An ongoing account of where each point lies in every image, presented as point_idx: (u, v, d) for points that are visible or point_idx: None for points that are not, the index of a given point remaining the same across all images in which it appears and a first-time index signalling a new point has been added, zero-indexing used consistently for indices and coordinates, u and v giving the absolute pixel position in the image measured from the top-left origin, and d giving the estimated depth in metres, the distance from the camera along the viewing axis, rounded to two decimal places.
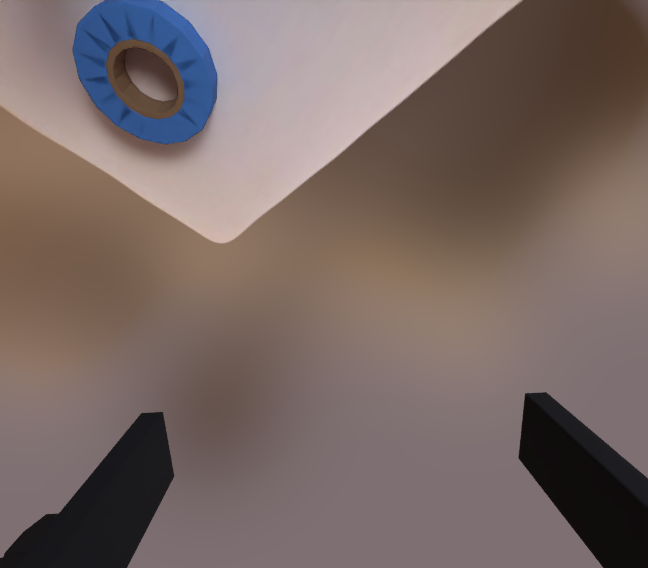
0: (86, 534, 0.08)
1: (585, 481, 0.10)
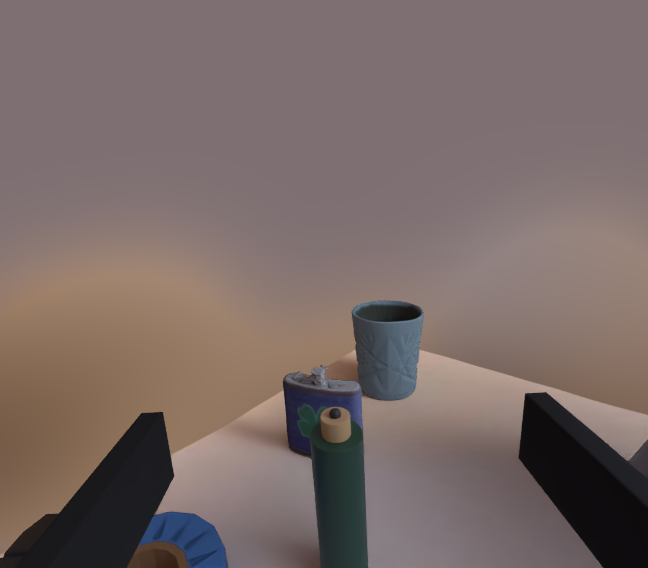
0: (86, 534, 0.08)
1: (585, 481, 0.10)
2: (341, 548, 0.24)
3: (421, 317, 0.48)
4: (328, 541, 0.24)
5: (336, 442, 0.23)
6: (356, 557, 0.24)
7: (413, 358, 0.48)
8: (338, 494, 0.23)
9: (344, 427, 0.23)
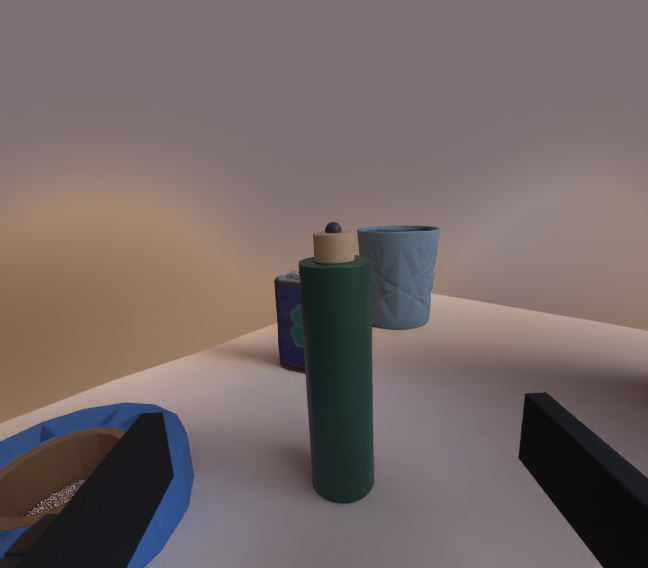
0: (86, 534, 0.08)
1: (585, 481, 0.10)
2: (338, 419, 0.18)
3: (437, 231, 0.41)
4: (321, 410, 0.18)
5: (334, 263, 0.17)
6: (359, 436, 0.18)
7: (427, 280, 0.42)
8: (335, 334, 0.16)
9: (345, 241, 0.16)
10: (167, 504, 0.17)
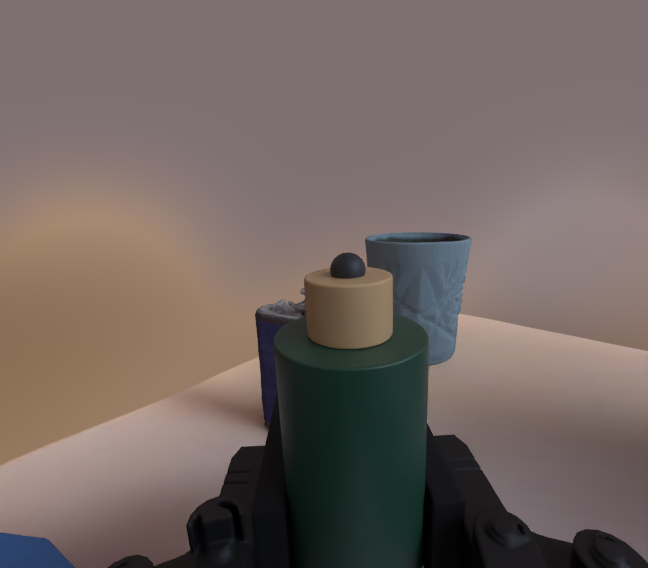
0: None
1: None
2: None
3: (469, 241, 0.32)
4: None
5: (351, 349, 0.07)
6: None
7: (455, 303, 0.33)
8: (354, 510, 0.07)
9: (377, 299, 0.07)
10: None
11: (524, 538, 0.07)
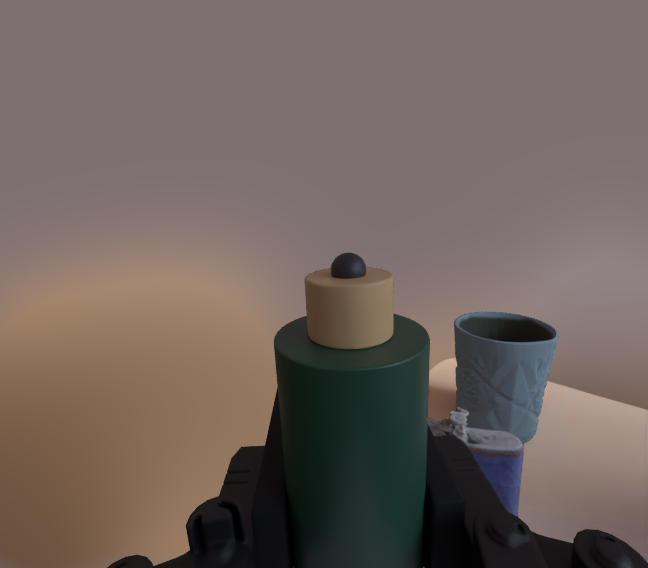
0: None
1: None
2: None
3: (557, 336, 0.36)
4: None
5: (352, 349, 0.07)
6: None
7: (543, 390, 0.37)
8: (355, 511, 0.07)
9: (378, 299, 0.07)
10: None
11: (524, 538, 0.07)
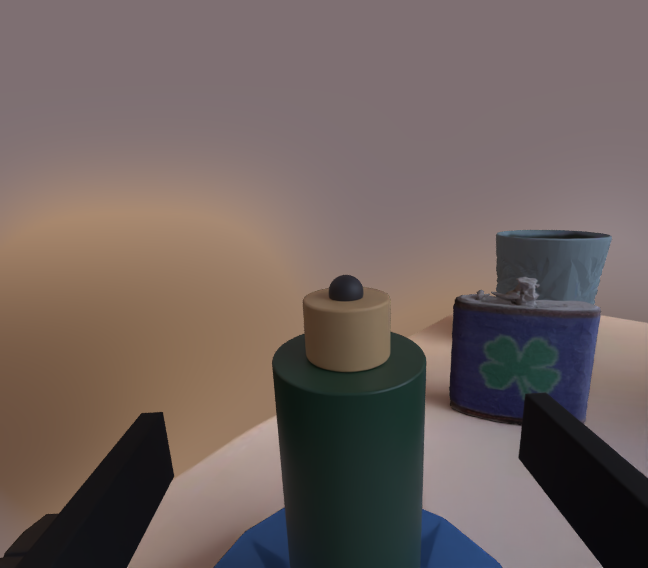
0: (86, 534, 0.08)
1: (585, 481, 0.10)
2: None
3: (611, 238, 0.34)
4: None
5: (349, 371, 0.07)
6: None
7: None
8: (352, 531, 0.07)
9: (375, 322, 0.07)
10: None
11: None
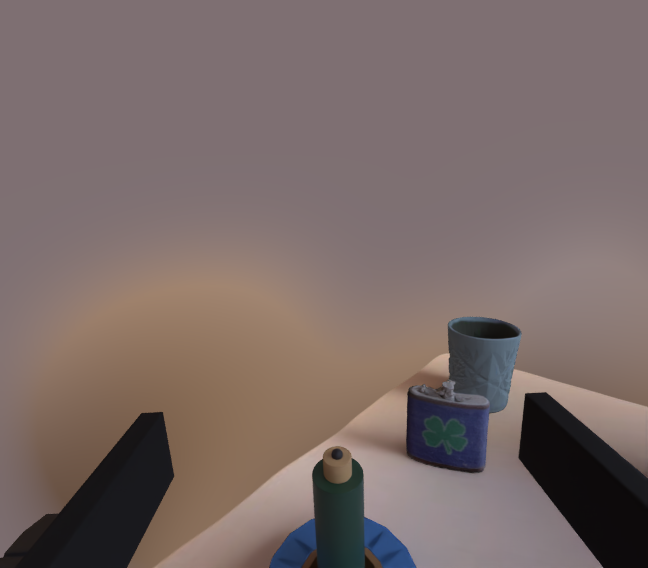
0: (86, 534, 0.08)
1: (585, 481, 0.10)
2: None
3: None
4: None
5: (337, 483, 0.24)
6: None
7: (511, 373, 0.51)
8: (338, 533, 0.24)
9: (345, 468, 0.23)
10: None
11: None
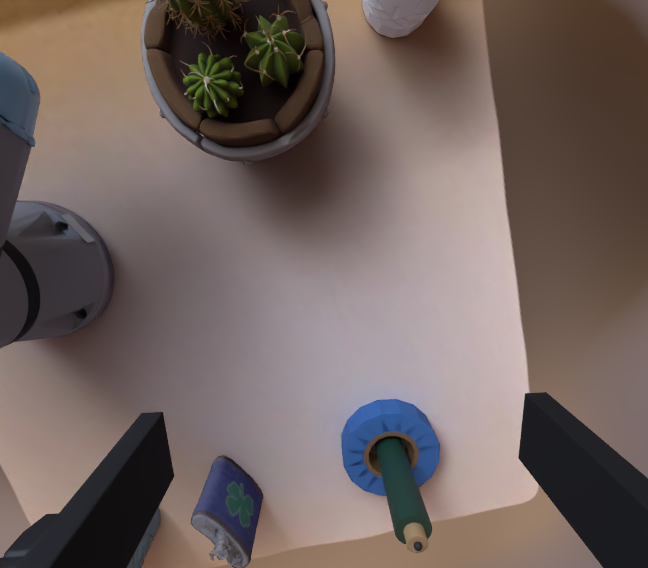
0: (86, 534, 0.08)
1: (585, 481, 0.10)
2: (405, 459, 0.41)
3: None
4: (410, 466, 0.41)
5: (419, 524, 0.33)
6: (395, 449, 0.42)
7: None
8: (416, 490, 0.36)
9: (417, 532, 0.32)
10: (357, 420, 0.43)
11: None
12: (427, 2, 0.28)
